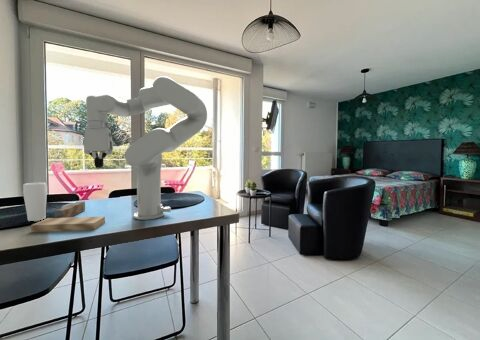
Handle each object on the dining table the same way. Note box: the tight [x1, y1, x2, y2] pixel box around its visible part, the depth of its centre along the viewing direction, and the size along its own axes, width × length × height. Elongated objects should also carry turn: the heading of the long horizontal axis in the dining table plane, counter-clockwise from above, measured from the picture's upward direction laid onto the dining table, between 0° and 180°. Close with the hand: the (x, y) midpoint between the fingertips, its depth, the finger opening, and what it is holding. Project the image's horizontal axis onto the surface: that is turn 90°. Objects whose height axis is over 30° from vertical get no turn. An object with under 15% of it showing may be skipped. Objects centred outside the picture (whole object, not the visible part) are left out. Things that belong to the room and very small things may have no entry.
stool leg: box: [53, 201, 86, 218], centre depth 91 cm, size 18×3×4 cm, turn 11°
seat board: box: [30, 216, 106, 233], centre depth 79 cm, size 20×9×2 cm, turn 100°
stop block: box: [61, 202, 73, 208], centre depth 95 cm, size 2×5×4 cm, turn 10°
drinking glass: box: [22, 181, 48, 222], centre depth 85 cm, size 7×7×15 cm
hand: (99, 167), depth 93 cm, fingers closed
